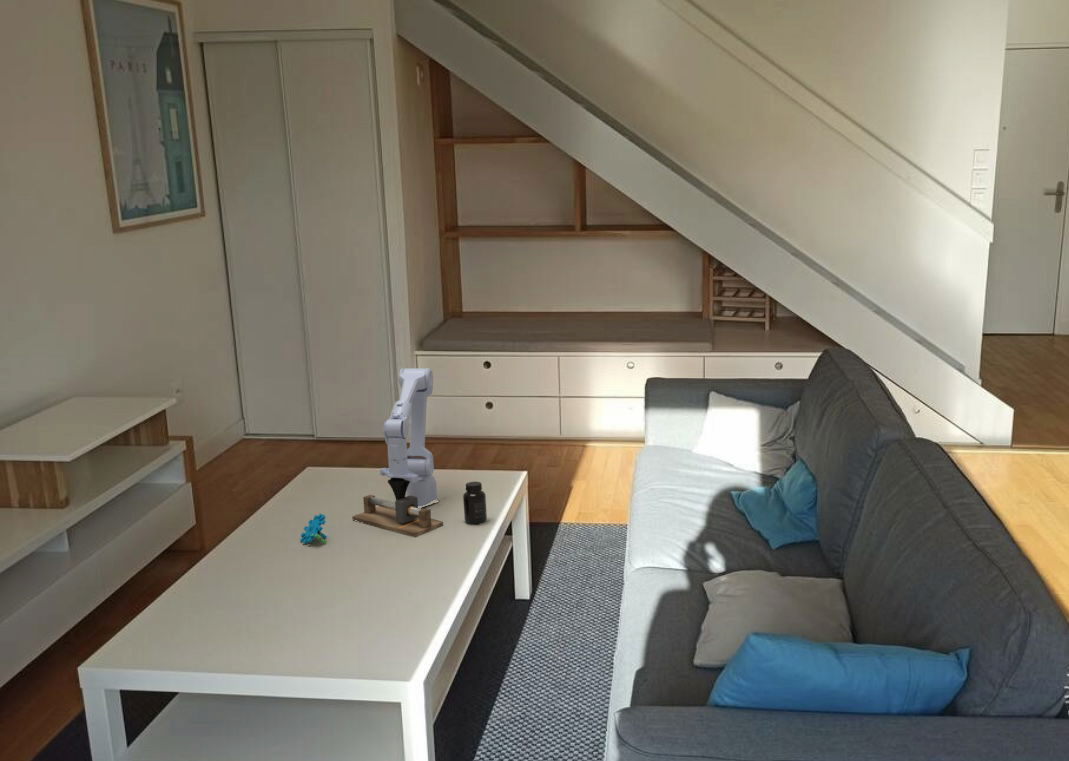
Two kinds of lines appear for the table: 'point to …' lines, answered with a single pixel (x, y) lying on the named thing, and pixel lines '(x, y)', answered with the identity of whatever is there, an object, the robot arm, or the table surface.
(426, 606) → the table surface
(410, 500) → the collar
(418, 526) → the pipe stand
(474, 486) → the supplement bottle
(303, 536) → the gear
